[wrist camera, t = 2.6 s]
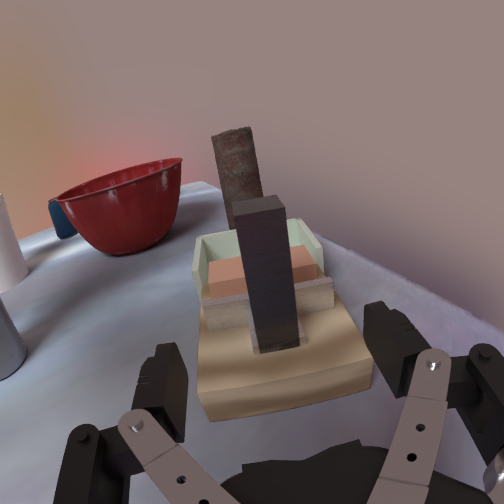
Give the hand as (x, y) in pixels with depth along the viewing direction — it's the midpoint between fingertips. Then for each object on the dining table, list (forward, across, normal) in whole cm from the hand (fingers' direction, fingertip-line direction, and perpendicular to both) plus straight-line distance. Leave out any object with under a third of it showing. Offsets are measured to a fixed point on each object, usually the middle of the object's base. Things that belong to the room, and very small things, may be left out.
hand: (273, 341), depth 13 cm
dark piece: (+12, -1, +9) cm, 15 cm away
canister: (+48, +59, +12) cm, 77 cm away
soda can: (+74, +51, +12) cm, 91 cm away
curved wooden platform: (+15, -1, +13) cm, 20 cm away
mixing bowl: (+56, +24, +13) cm, 62 cm away
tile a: (+21, +2, +9) cm, 23 cm away
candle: (+48, -1, +13) cm, 50 cm away
